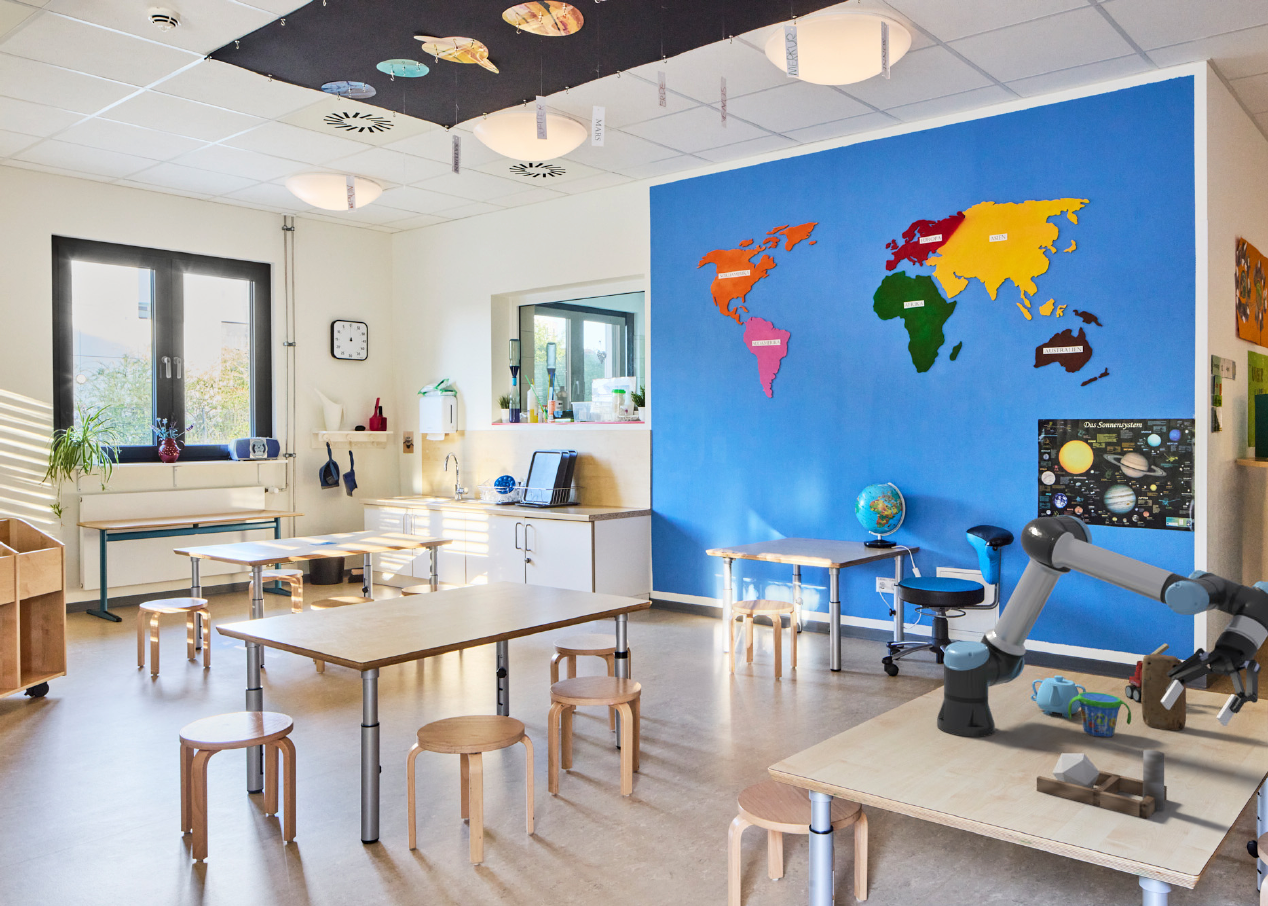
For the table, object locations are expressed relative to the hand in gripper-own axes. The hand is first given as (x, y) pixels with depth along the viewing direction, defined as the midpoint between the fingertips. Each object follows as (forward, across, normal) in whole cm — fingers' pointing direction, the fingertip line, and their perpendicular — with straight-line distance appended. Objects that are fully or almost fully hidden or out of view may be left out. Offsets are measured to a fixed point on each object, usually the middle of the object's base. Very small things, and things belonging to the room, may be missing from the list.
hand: (1192, 713), depth 205 cm
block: (-18, +44, -46) cm, 66 cm away
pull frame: (+24, +10, -3) cm, 26 cm away
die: (+27, +15, -2) cm, 31 cm away
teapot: (-5, +64, -32) cm, 72 cm away
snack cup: (-1, +45, -29) cm, 54 cm away
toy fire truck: (-31, +64, -59) cm, 93 cm away
